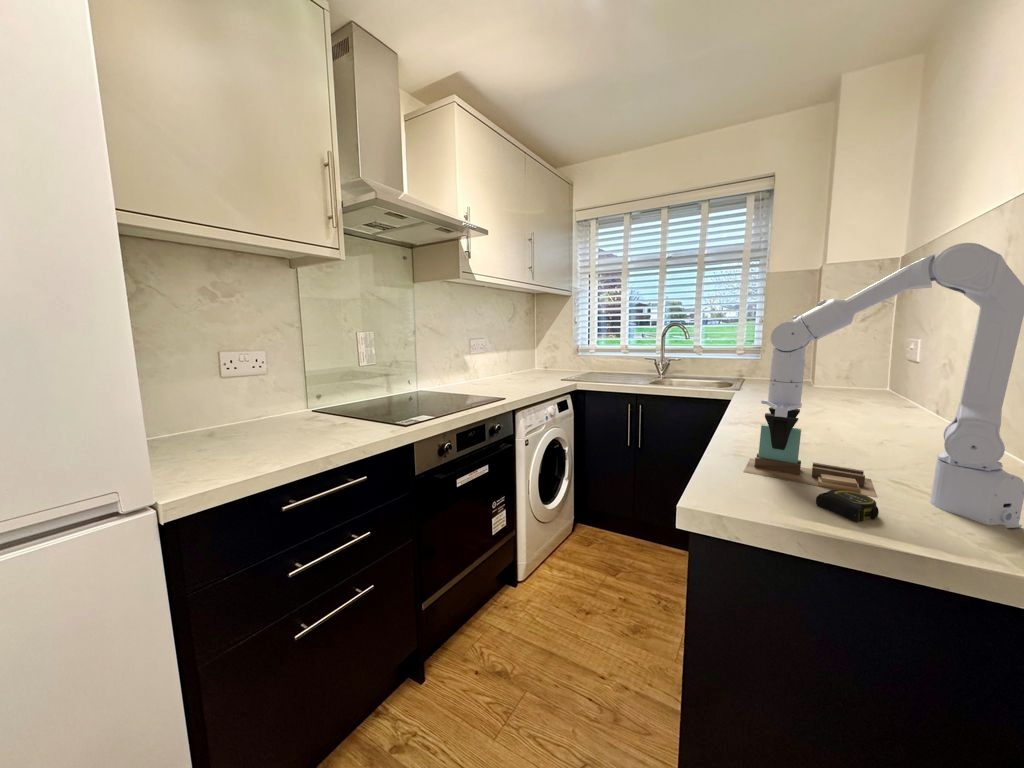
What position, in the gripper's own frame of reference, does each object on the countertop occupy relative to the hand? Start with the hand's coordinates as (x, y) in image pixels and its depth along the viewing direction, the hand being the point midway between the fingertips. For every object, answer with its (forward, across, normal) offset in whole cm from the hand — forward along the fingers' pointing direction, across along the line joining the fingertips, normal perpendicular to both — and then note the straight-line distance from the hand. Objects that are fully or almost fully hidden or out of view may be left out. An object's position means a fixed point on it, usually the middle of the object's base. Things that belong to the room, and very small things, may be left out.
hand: (779, 444), depth 87 cm
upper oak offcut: (+4, +5, +10) cm, 12 cm away
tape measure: (+7, +18, +11) cm, 22 cm away
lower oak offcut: (+5, +5, +10) cm, 12 cm away
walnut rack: (+6, +2, +5) cm, 8 cm away
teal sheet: (+5, 0, 0) cm, 5 cm away
